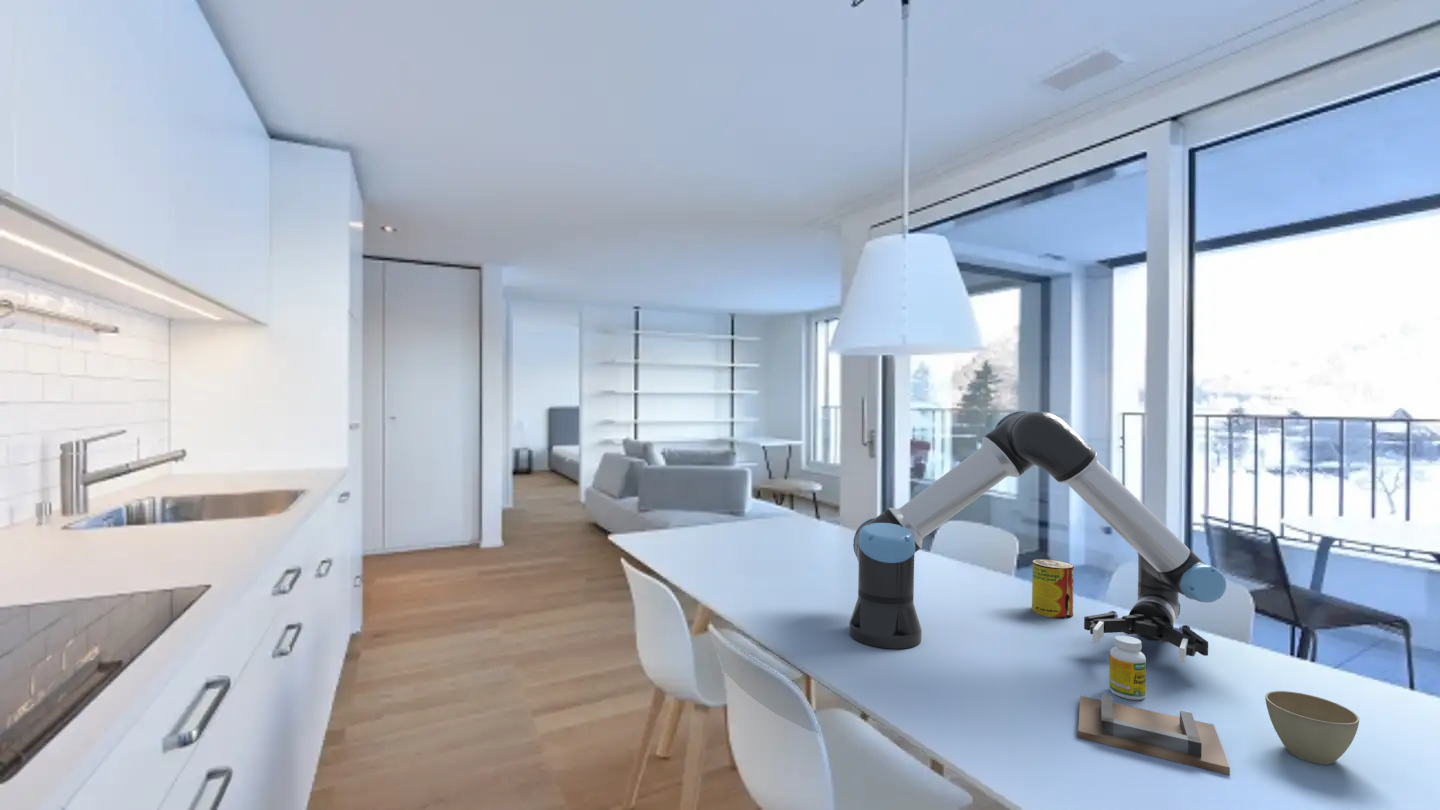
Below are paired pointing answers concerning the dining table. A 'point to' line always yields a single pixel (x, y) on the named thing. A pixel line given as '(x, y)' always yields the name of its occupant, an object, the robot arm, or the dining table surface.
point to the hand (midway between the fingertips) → (1136, 645)
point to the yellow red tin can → (1052, 588)
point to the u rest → (1152, 733)
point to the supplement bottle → (1128, 668)
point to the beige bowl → (1311, 725)
